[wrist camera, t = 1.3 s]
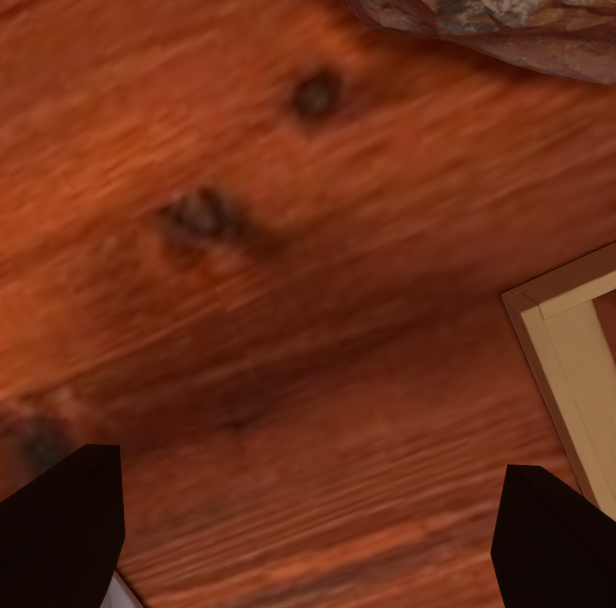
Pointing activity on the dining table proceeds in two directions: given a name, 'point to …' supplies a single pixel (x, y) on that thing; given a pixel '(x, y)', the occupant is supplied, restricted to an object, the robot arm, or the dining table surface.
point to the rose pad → (607, 317)
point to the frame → (574, 365)
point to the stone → (511, 31)
